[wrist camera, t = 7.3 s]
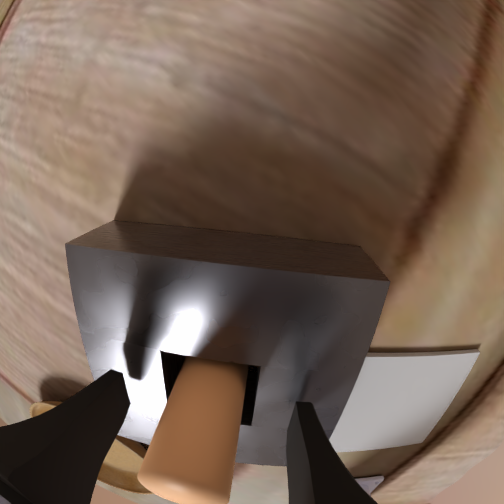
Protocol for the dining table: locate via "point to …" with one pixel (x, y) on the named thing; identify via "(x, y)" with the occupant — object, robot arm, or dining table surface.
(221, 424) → the peg
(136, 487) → the plant saucer
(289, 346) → the socket block
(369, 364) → the mat
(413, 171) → the dining table surface
